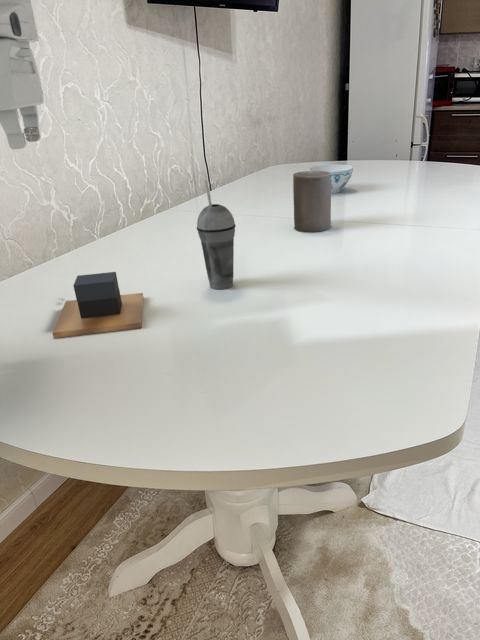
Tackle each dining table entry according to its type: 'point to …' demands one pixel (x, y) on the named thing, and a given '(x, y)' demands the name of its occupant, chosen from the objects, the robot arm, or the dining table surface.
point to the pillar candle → (312, 201)
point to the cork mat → (100, 318)
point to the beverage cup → (217, 243)
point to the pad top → (96, 286)
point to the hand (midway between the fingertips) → (26, 144)
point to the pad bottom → (100, 307)
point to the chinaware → (336, 175)
